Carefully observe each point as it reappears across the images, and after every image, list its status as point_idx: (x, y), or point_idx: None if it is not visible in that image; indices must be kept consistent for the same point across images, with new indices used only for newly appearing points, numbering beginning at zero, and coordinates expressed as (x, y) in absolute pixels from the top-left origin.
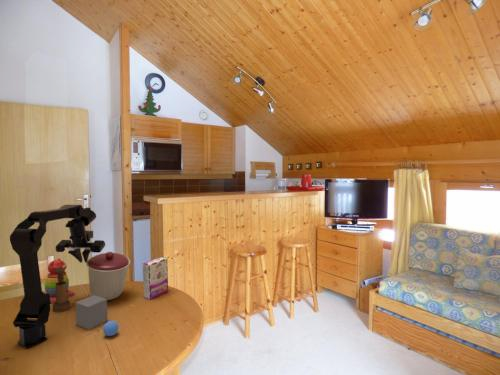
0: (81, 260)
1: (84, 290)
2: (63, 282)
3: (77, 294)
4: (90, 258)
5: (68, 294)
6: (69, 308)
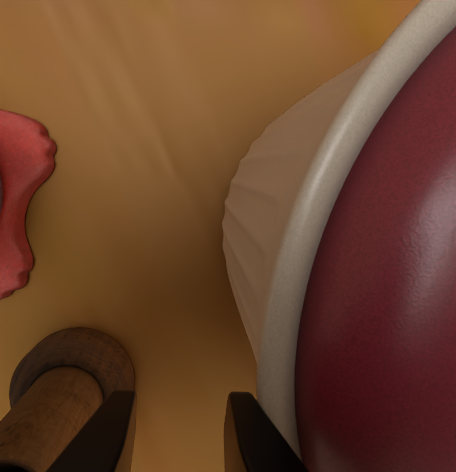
0: (128, 461)
1: (101, 64)
2: (4, 461)
3: (79, 142)
4: (291, 293)
5: (24, 190)
6: (133, 386)
